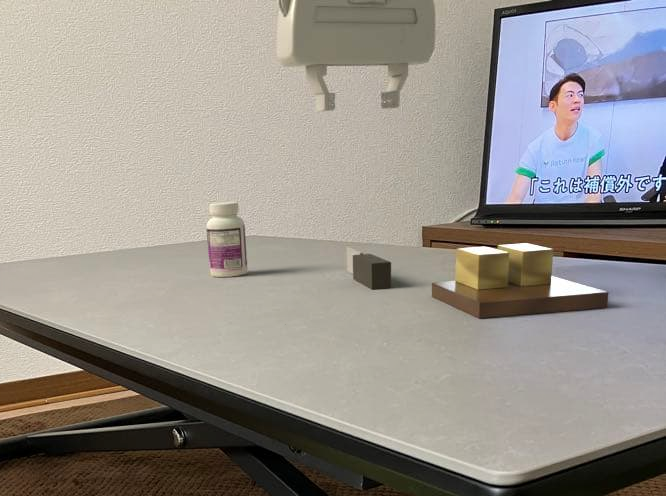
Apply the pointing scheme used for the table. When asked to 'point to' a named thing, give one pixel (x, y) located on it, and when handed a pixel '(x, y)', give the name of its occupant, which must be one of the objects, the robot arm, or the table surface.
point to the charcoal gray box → (369, 269)
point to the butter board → (513, 283)
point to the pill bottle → (226, 241)
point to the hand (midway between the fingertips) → (358, 109)
